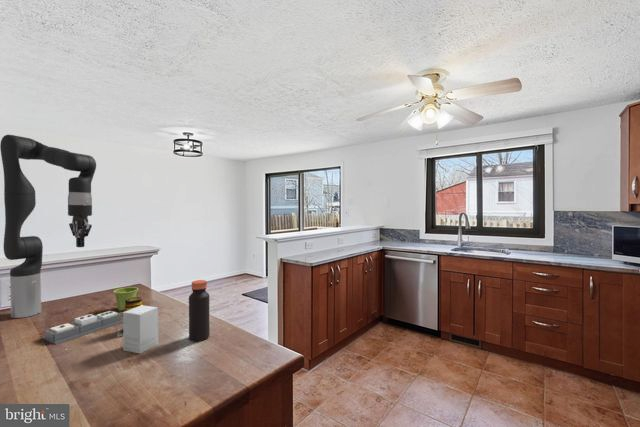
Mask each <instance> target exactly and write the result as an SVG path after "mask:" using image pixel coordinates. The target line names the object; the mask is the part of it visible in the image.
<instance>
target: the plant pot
mask: <svg viewBox="0 0 640 427" xmlns="http://www.w3.org/2000/svg"><path fill="white" fill-rule="evenodd" d="M138 291H139V288H138V287H135V286H133V287H132V286H130V287H129V286H128V287H127V286H126V287H121V288H117V289H114V290H113V294H114V297H115V299H116V306H117V311H119V312H121V311H124V308H125V304H126V303H125V301H126V300H127V299H129V298H133V297H137V293H138Z"/></svg>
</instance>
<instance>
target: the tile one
mask: <svg viewBox="0 0 640 427" xmlns="http://www.w3.org/2000/svg"><path fill="white" fill-rule="evenodd" d="M68 323H69V322H68ZM68 323H64V324H60V325H56V326H53V327H50V328H49V329H50V331H52V332H54V333H59V332H62V331H66V330H69V329H72V328H74V325H71V324H68Z"/></svg>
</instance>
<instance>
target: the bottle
mask: <svg viewBox="0 0 640 427" xmlns="http://www.w3.org/2000/svg"><path fill="white" fill-rule="evenodd" d="M207 285H208V283H207V280H206V279H198V280H194V281H192V282H191V291H192V293H190V295H189V296H188V339H189V341H191V342H201V340H202V341H205V340H207V339H208V338H209V337H210V294H209V292H207V291H206V290H207V288H208V286H207Z"/></svg>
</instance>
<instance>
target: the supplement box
mask: <svg viewBox="0 0 640 427" xmlns="http://www.w3.org/2000/svg"><path fill="white" fill-rule="evenodd" d="M122 320H123V323H122V329H123V336H122V337H123V338H122V339H123V341H122V342H123V344H122V345H123V351H126V352H130V353H135V354H142V353H145V352H146V351H149V350H150V349H153V347H156V346H158V345H159V307H156V306H149V305H144V304H142V306H139V307H136V308H133V309H131V310H128V311H125V312H124V311H123V312H122Z"/></svg>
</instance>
